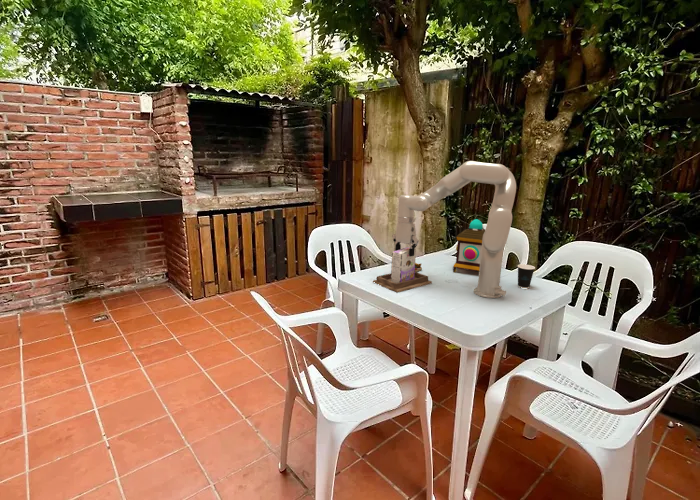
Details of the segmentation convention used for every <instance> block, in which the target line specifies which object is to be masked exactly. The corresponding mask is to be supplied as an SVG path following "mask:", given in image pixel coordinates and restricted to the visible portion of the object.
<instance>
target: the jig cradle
mask: <svg viewBox="0 0 700 500" xmlns="http://www.w3.org/2000/svg"><path fill="white" fill-rule="evenodd" d="M373 282H375V283H377V284H376V285H378V284H379V285H378V286H380V285H381V287H383V288H386V289H387V290H389V291H392V292H394V293H396V294H398V293H401V292H405V291H409V290H413V289H416V288H420V287H421V288H422V287H424V286H427V285H431V284H432V282H433V281H431V280H429V275H426V274H422V273H420V272H415V276H414V279H411V280H407V281H403V282H399V283H394V282H392V281H391V272H390V273H386V274H382V275H378V276H376V279H373V280H372V283H373ZM375 283H374V284H375Z"/></svg>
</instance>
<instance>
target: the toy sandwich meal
mask: <svg viewBox="0 0 700 500" xmlns="http://www.w3.org/2000/svg"><path fill="white" fill-rule="evenodd" d="M421 266H422V263H417V262H415V272H417V273H419V272H420V271H421V270H422V269H423V268H422V267H421Z"/></svg>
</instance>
